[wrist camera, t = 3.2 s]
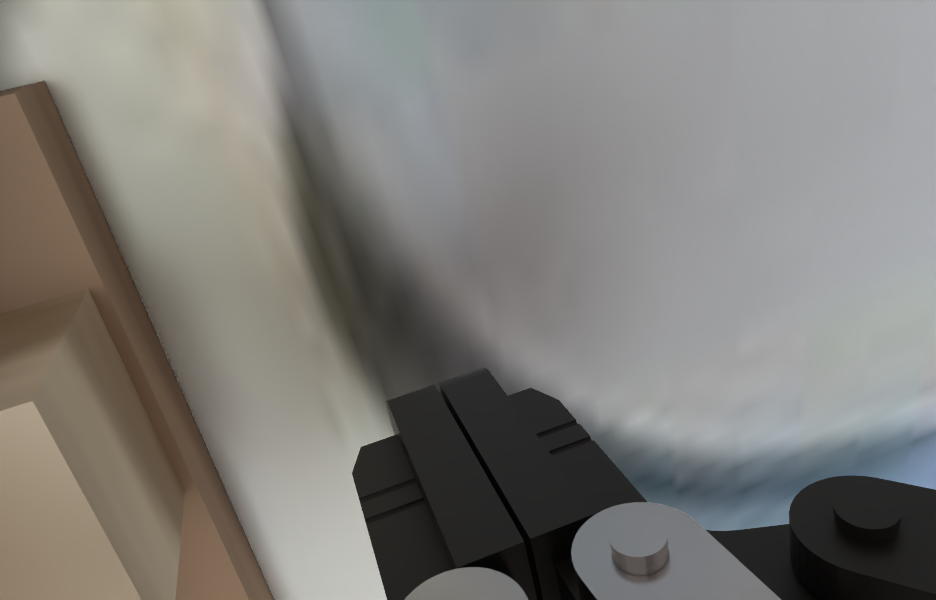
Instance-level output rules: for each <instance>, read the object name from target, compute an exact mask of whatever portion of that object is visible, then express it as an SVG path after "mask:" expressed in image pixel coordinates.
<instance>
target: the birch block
mask: <svg viewBox="0 0 936 600" xmlns="http://www.w3.org/2000/svg"><path fill="white" fill-rule="evenodd" d="M184 498H185V492H184V490H183V488H182V486H181V484H180V482H179V479H178V477H177V475H176V473H175V471H174V469H173V467H172V465H171V463H170V460H169V458H168V456H167V454H166V452H165V450H164V448H163V446H162V444H161V441H160V439H159V437H158V435H157V433H156V431H155V429H154V427H153V425H152V422H151V420H150V418H149V416H148V414H147V412H146V410H145V408H144V406H143V403H142V401H141V399H140V397H139V395H138V393H137V391H136V389H135V387H134V384H133V382H132V380H131V378H130V376H129V374H128V372H127V370H126V368H125V365H124V363H123V361H122V359H121V357H120V355H119V353H118V351H117V349H116V346H115V344H114V342H113V340H112V338H111V336H110V334H109V332H108V330H107V327H106V325H105V323H104V321H103V319H102V317H101V315H100V313H99V310H98V308H97V306H96V304H95V302H94V300H93V298H92V296H91V294H90V291H89V289H88V288H87V289H84V290H80V291H77V292H74V293H70V294H67V295H63V296H60V297H57V298H53V299H50V300H46V301H43V302H39V303H36V304H33V305H29V306H26V307H22V308H19V309H15V310H12V311H9V312H5V313H2V314H0V600H175V599H176V588H177V576H178V565H179V554H180V543H181V531H182V520H183V509H184Z"/></svg>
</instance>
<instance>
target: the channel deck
mask: <svg viewBox="0 0 936 600" xmlns="http://www.w3.org/2000/svg"><path fill="white" fill-rule="evenodd" d="M87 288H88V289H89V291H90V294H91V296H92V298H93V300H94V302H95V304H96V306H97V308H98V310H99V313H100V315H101V317H102V319H103V321H104V323H105V325H106V327H107V330H108V332H109V334H110V336H111V338H112V340H113V342H114V344H115V346H116V349H117V351H118V353H119V355H120V357H121V359H122V361H123V363H124V365H125V368H126V370H127V372H128V374H129V376H130V378H131V380H132V382H133V384H134V387H135V389H136V391H137V393H138V395H139V397H140V399H141V401H142V403H143V406H144V408H145V410H146V412H147V414H148V416H149V418H150V420H151V422H152V425H153V427H154V429H155V431H156V433H157V435H158V437H159V439H160V441H161V444H162V446H163V448H164V450H165V452H166V454H167V456H168V458H169V460H170V463H171V465H172V467H173V469H174V471H175V473H176V475H177V477H178V479H179V482H180V484H181V486H182V488H183V490H184V492H185V498H184V509H183V520H182V531H181V543H180V554H179V565H178V576H177V588H176V599H175V600H274V599H273V597H272V595H271V592H270V590H269V588H268V586H267V583H266V581H265V579H264V577H263V574H262V572H261V570H260V568H259V565H258V563H257V561H256V558H255V556H254V554H253V552H252V549H251V547H250V545H249V543H248V540H247V538H246V536H245V534H244V531H243V529H242V527H241V525H240V522H239V520H238V518H237V516H236V513H235V511H234V509H233V507H232V504H231V502H230V500H229V497H228V495H227V493H226V491H225V488H224V486H223V484H222V482H221V479H220V477H219V475H218V473H217V470H216V468H215V466H214V464H213V461H212V459H211V457H210V455H209V452H208V450H207V448H206V446H205V443H204V441H203V439H202V436H201V434H200V432H199V430H198V427H197V425H196V423H195V421H194V418H193V416H192V414H191V412H190V409H189V407H188V405H187V403H186V400H185V398H184V396H183V394H182V391H181V389H180V387H179V385H178V382H177V380H176V378H175V376H174V373H173V371H172V369H171V366H170V364H169V362H168V360H167V357H166V355H165V353H164V351H163V348H162V346H161V344H160V342H159V339H158V337H157V335H156V333H155V330H154V328H153V326H152V324H151V321H150V319H149V317H148V315H147V312H146V310H145V308H144V305H143V303H142V301H141V299H140V296H139V294H138V292H137V290H136V287H135V285H134V283H133V281H132V278H131V276H130V274H129V272H128V269H127V267H126V265H125V263H124V260H123V258H122V256H121V254H120V251H119V249H118V247H117V244H116V242H115V240H114V238H113V235H112V233H111V231H110V229H109V226H108V224H107V222H106V220H105V217H104V215H103V213H102V211H101V208H100V206H99V204H98V202H97V199H96V197H95V195H94V193H93V190H92V188H91V186H90V183H89V181H88V179H87V177H86V174H85V172H84V170H83V168H82V165H81V163H80V161H79V159H78V156H77V154H76V152H75V150H74V147H73V145H72V143H71V141H70V138H69V136H68V134H67V132H66V129H65V127H64V125H63V122H62V120H61V118H60V116H59V113H58V111H57V109H56V107H55V104H54V102H53V100H52V98H51V95H50V93H49V91H48V89H47V86H46V84H45V82H44V81H41V82H37V83H33V84H28V85H24V86H20V87H16V88H12V89H8V90H3V91H0V314H2V313H5V312H9V311H12V310H15V309H19V308H22V307H26V306H29V305H33V304H36V303H39V302H43V301H46V300H50V299H53V298H57V297H60V296H63V295H67V294H70V293H74V292H77V291H80V290H84V289H87Z"/></svg>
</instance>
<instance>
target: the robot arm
mask: <svg viewBox="0 0 936 600" xmlns="http://www.w3.org/2000/svg"><path fill="white" fill-rule="evenodd" d="M386 405H387V409H388V413H389V416H390V420H391V423H392V427H393V430H394V434H395V435H394V436H391V437H388V438H386V439H383V440H380V441H377V442H374V443H371V444H368V445H365V446H363V447H361V449H360V451H359V454H358V457H357V460H356V463H355V466H354V469H353V472H352V475H353V478H354V482H355V485H356V489H357V493H358V496H359V500H360V503H361V507H362V511H363V514H364V518H365V521H366V524H367V528H368V532H369V536H370V539H371V543H372V546H373V550H374V554H375V557H376V561H377V564H378V568H379V572H380V575H381V579H382V582H383V586H384V590H385V593H386V597H387V600H936V490H934V489H929V488H924V487H919V486H914V485H909V484H904V483H899V482H894V481H889V480H884V479H879V478H873V477H867V476H838V477H832V478H827V479H823V480H820V481H817V482H815V483H813V484H810V485H808V486H807V487H805V488H804V489H803V490H801V491H800V492H799V493H798V494H797V495H796V496H795V498H794V500H793V501H792V503H791V506H790V511H789V524H786V525H777V526H769V527H761V528H752V529H744V530H735V531H709V530H705V529H704V528H703V527H702V526H701V525H700V524H698V523H697V522H696V521H695V520H694V519H692V518H691V517H690V516H689V515H687V514H685V513H683V512H682V511H680V510H677V509H675V508H672V507H670V506H666V505H662V504H658V503H649V502H647V501H646V500H645V499H644V498H643V496H642V495H641V494H640V493H639V492H638V491H637V490H636V488H635V487H634V486H633V485H632V484H631V483H630V482H629V480H628V479H627V478H626V477H625V476H624V475H623V473H622V472H621V471H620V470H619V469H618V468H617V467H616V465H615V464H614V463H613V462H612V461H611V460H610V459H609V457H608V456H607V455H606V454H605V453H604V452H603V450H602V449H601V448H600V447H599V446H598V445H597V444H596V442H595V441H594V440H593V441H592V440H591V438H590V436H589V434H588V433H587V432H586V431H585V430H584V429H583V427H582V426H581V425H580V424H577V422H576V419H575V418H574V417H573V416H572V415H571V414H570V413H569V411H568V410H567V409H566V408H565V407H564V406H563V404H562V403H561V402H560V401H559V400H557V399H555V398H553V397H551V396H548V395H546V394H544V393H541V392H539V391H537V390H534V389H532V388H529V389H526V390H523V391H520V392H517V393H515V394H512V395H509V396H507V395H506V393H505V392H504V391H503V389H502V388H501V387H500V385H499V384H498V383H497V381H496V380H495V379H494V377H493V376H492V375H491V373H490V372H489V371H488V369H486V368H482V369H479V370H476V371H473V372H470V373H467V374H464V375H461V376H459V377H456V378H453V379H450V380H447V381H444V382H441V383H438V384H437V388H436V386H435V385H432V386H429V387H426V388H423V389H421V390H418V391H415V392H412V393H409V394H406V395H403V396H400V397H397V398H394V399H391V400H388V401H386Z"/></svg>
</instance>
